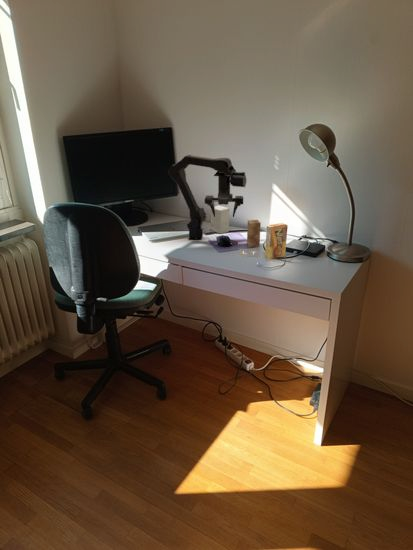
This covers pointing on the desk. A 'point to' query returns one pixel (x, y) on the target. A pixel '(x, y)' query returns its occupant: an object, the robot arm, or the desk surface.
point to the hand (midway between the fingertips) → (224, 216)
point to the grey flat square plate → (249, 253)
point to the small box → (220, 219)
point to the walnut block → (253, 233)
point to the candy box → (276, 240)
